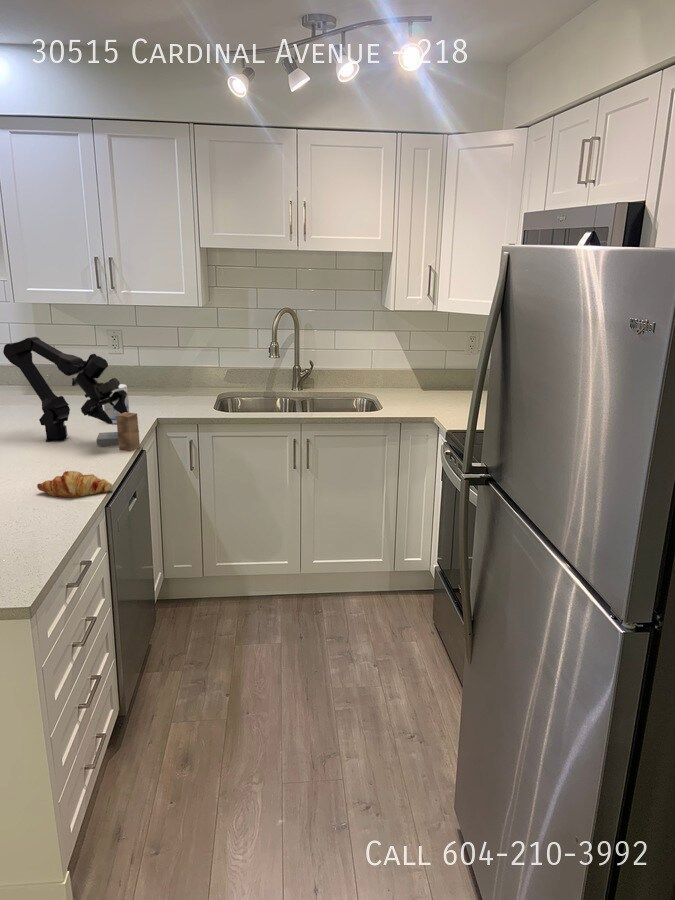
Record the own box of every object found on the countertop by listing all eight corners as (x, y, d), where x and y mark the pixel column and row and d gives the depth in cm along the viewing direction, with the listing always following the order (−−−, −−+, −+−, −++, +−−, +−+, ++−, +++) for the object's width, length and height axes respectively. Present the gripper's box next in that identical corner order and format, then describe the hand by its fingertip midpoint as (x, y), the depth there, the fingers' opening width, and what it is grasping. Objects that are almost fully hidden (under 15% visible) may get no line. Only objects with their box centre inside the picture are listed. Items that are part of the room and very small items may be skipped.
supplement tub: (117, 425, 260) (113, 389, 255) (100, 422, 264) (96, 386, 260) (135, 420, 268) (132, 385, 263) (118, 417, 272) (115, 382, 268)
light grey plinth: (97, 446, 233) (96, 439, 232) (99, 439, 241) (99, 432, 240) (123, 444, 235) (122, 438, 234) (125, 437, 243) (124, 431, 242)
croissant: (116, 499, 194) (117, 472, 196) (108, 495, 184) (109, 467, 186) (41, 500, 192) (43, 473, 193) (30, 496, 182) (31, 468, 183)
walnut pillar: (119, 449, 229) (115, 415, 225) (128, 446, 233) (125, 412, 230) (131, 451, 227) (127, 416, 224) (140, 447, 232) (137, 413, 228)
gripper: (83, 376, 217) (114, 411, 216) (120, 367, 233) (148, 399, 233) (67, 398, 222) (97, 432, 221) (104, 387, 238) (132, 419, 238)
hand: (120, 420), depth 228 cm, fingers open, 9 cm apart
